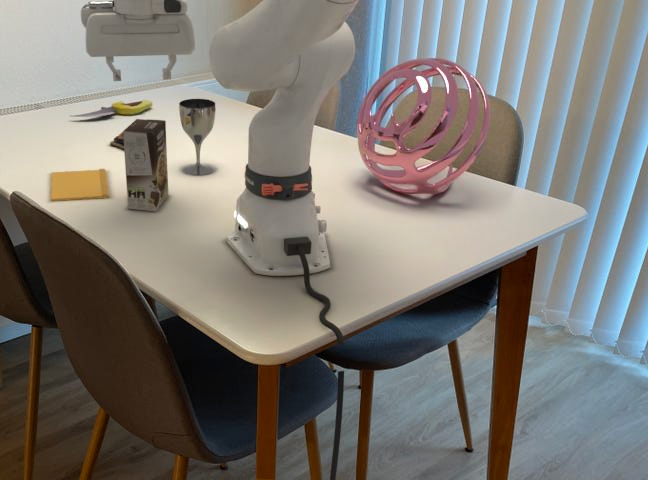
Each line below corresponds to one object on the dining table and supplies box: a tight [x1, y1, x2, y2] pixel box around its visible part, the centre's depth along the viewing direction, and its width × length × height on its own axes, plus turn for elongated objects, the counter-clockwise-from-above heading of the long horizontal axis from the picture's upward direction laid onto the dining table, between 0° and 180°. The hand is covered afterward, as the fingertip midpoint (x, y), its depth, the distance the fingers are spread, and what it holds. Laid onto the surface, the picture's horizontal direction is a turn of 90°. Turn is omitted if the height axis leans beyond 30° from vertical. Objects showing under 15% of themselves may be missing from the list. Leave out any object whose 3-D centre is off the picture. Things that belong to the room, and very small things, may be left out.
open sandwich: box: [109, 131, 124, 150], centre depth 192 cm, size 11×8×4 cm
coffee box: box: [122, 118, 169, 213], centre depth 156 cm, size 9×6×16 cm
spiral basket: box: [356, 57, 492, 196], centre depth 164 cm, size 28×28×27 cm
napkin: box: [50, 168, 110, 202], centre depth 168 cm, size 16×12×1 cm
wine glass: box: [178, 98, 216, 176], centre depth 173 cm, size 8×8×15 cm
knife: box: [70, 99, 153, 118], centre depth 212 cm, size 8×3×25 cm
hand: (142, 79), depth 147 cm, fingers open, 8 cm apart
